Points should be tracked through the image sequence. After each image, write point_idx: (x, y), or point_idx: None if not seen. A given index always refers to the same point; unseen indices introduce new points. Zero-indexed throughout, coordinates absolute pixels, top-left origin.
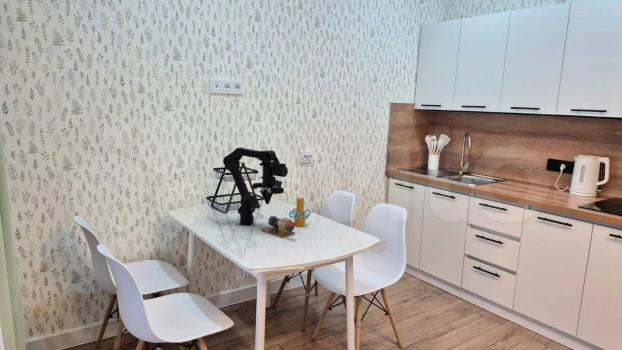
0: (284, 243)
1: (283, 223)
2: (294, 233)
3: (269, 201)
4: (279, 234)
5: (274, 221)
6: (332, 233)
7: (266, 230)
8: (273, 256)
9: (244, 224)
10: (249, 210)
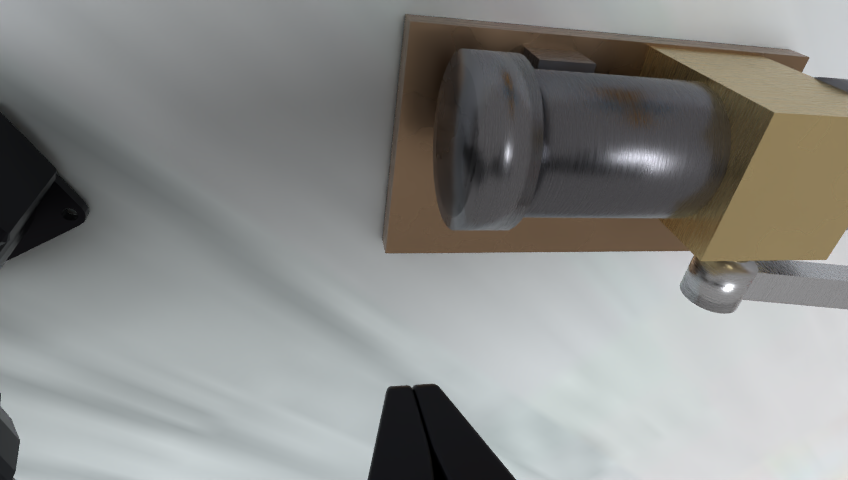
0: (766, 306)
1: (804, 300)
2: (797, 61)
3: (487, 456)
4: (668, 235)
5: (573, 217)
6: None
7: (471, 244)
8: (772, 460)
9: (19, 254)
10: (11, 420)
